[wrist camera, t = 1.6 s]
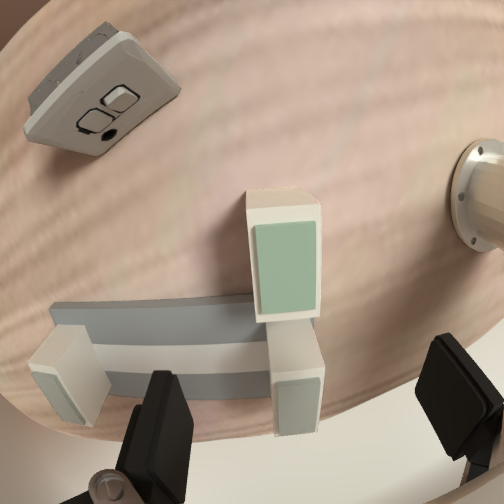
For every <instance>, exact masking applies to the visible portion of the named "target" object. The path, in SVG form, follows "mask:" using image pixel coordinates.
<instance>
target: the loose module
mask: <svg viewBox="0 0 504 504" xmlns="http://www.w3.org/2000/svg"><path fill="white" fill-rule="evenodd" d="M246 215H247V226H248V237H249V248H250V259H251V270H252V281H253V292H254V303H255V314H256V323H261V322H273V321H284V320H294V319H303V318H312V317H320V302H321V203H319V202H318V201H317V200H316V199H315V198H314V197H312V196H311V195H310V194H309V193H308V192H307V191H305V190H304V189H303V188H302V187H301V186H299V187H283V188H269V189H256V190H246Z"/></svg>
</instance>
